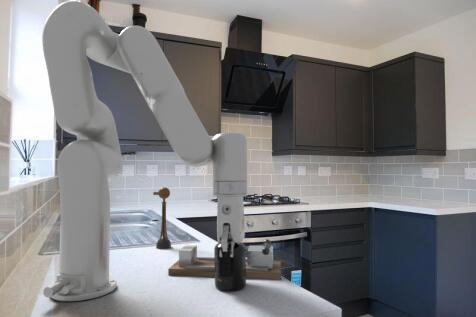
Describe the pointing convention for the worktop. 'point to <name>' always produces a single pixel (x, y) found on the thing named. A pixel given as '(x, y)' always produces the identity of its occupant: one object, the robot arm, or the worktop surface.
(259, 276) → the vise base
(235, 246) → the supplement bottle
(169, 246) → the wooden tabletop sculpture
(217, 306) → the worktop surface
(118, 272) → the worktop surface
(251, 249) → the block
